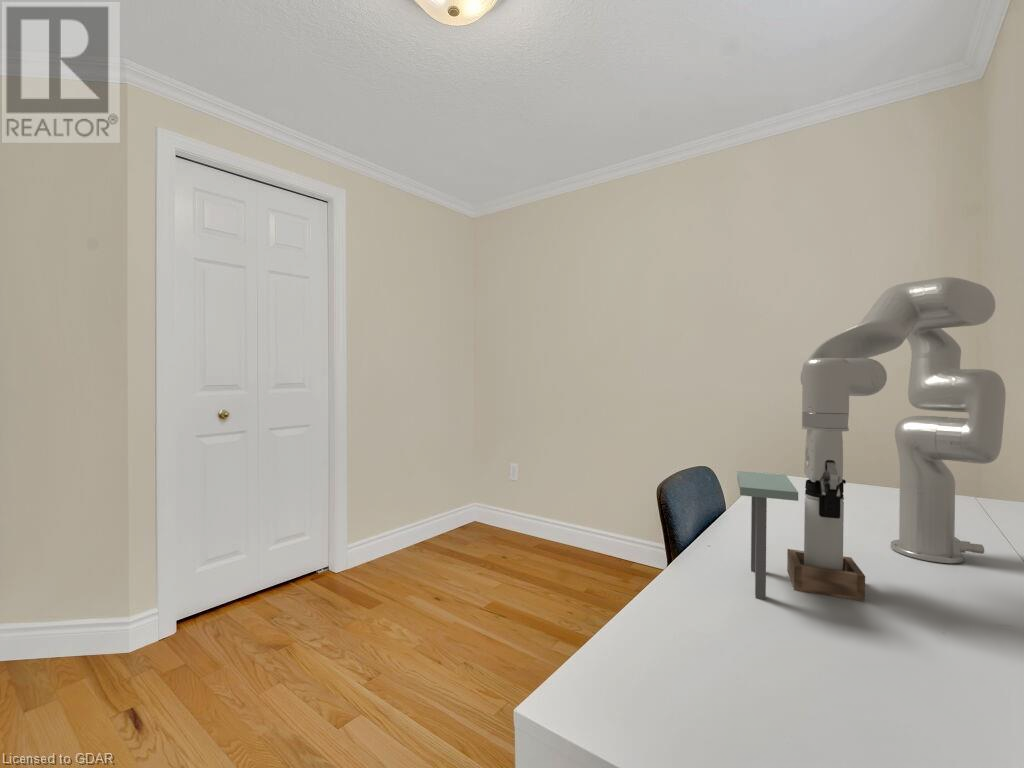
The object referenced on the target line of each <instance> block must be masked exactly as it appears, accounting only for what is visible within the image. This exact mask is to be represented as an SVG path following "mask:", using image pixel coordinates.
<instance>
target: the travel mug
mask: <svg viewBox="0 0 1024 768" xmlns="http://www.w3.org/2000/svg"><path fill="white" fill-rule="evenodd" d="M846 483H847V482H846V479H844V478H843V479H842V482H841V483H840V484H839V489H840V518H839V519H836V518H827V517H821V516H820V515H819V494H820V495H821V489H820V481H819V480H816V482H812V481H811V480H810V479H809V478H808V479H806V480H805V484H804V485H805V486H804V488H805V489H804V491H805V492H804V531H803V532H804V533H803V535H804V536H803V537H804V539H803V542H804V543H803V551H804V565H807V566H813V567H820V568H827V569H834V570H841V571H843V556H844V512H845V511H844V507H845V506H844V505H845V503H844V499H845V497H844V485H845V484H846ZM825 487H826V486H825Z"/></svg>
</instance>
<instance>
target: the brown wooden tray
mask: <svg viewBox="0 0 1024 768" xmlns="http://www.w3.org/2000/svg"><path fill="white" fill-rule="evenodd" d="M786 554H787V556H786V557H787V563H786V564H787V567H786V568H787V569H786V570H787V574H788V577H789V579H790V581H791V585H792V587H793V590H794V591H800V592H807V593H811V594H818V595H823V596H830V597H831V596H832V597H835V598H836V597H837V598H843V599H848V600H854V601H861V602H866V575H865V574H864V572H863V571H862V570H861V569H860V568H859V566H858V564H857V563H856V561H855V560H854V559H853V558H852V557H850V556H844V555H843V571H841V570H834V569H827V568H820V567H813V566H807V565H804V550H799V549H792V548H787V553H786Z"/></svg>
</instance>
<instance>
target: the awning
mask: <svg viewBox="0 0 1024 768" xmlns="http://www.w3.org/2000/svg"><path fill="white" fill-rule="evenodd" d="M736 472H737V473H736V478H737V484H738V491H739V495H740V496H743V497H751V507H750V508H751V509H750V511H751V512H750V515H751V517H750V518H751V520H750V522H751V523H750V529H751V530H750V532H751V533H750V572H752V571H754V572H753V573H754V576H755V577H754V579H755V580H754V598H756V599H761V600H765V601H766V599H767V587H766V585H767V517H768V515H767V507H768V506H767V505H768V504H767V503H768V502H767V501H768V500H767V499H774V500H775V499H776V500H787V501H796V502H797V501H798V502H799V491H798V489H797V488H796V487H795V486H794V484H793V482H792V481H791V480H790V478H789V477H788V476H787V474H778V473H766V472H753V471H752V472H751V471H741V470H738V471H736Z"/></svg>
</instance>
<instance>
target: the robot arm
mask: <svg viewBox="0 0 1024 768" xmlns="http://www.w3.org/2000/svg"><path fill="white" fill-rule="evenodd" d="M995 311H996V300H995V296H994V295H993V293H992V291H991V290H990V289H989V288H987V287H986V286H985V285H983V284H981V283H976V282H973V281H970V280H967V279H963V278H958V277H954V276H953V277H952V276H947V277H946V276H945V277H936V278H930V279H929V278H928V279H924V280H918V281H917V280H916V281H911V282H905V283H900V284H895V285H894V286H891V287H889V288H888V289H886V290H885V291H884V292H883V293H882V294H881V295H880V297H878V299H876V301H875V303H874V304H873V305H872V306H871V308H870V310H869V311H868V312H867V313H866V315H865V316H864V317H863V318H862V320H861V321H860V322H859V323H857V324H854V325H853V326H851V327H849V328H847V329H845V330H843V331H841V332H839V333H837V334H836V335H834V336H832V337H830V338H828V339H826V340H825V341H824V342H822V343H821V344H819V346H817V347H816V348H815V350H813V352H812V353H811V354H810V355H809V357H808V358H807V359H806V360H805V361H804V363H803V365H802V368H801V372H800V383H801V385H802V388H801V389H802V391H801V392H802V393H801V394H802V395H801V396H802V397H801V398H802V401H801V403H802V404H801V411H802V413H801V429H803V430H806V435H805V447H804V448H805V449H804V450H805V451H804V466H803V467H804V468H803V469H804V470H803V473H804V475H805V477H807V479H808V480H809V479H810V480H811V481H812V482H816V480H819V481H820V489H821V495H820V494H819V515H820V516H821V517H827V518H836V519H839V518H840V489H839V484H840V483H841V482H842V479H843V480H844V478H843V476H844V439H843V438H844V437H843V432H849V430H850V427H849V426H850V397H867V396H872V395H875V394H878V393H879V392H880V391H882V390H883V389H884V387H885V386H886V383H887V381H888V374H887V370H886V368H885V366H884V365H883V364H882V363H880V362H879V361H878V360H875V359H873V358H872V357H876V356H879V355H883V354H885V353H888V352H891V351H893V350H895V349H897V348H899V347H900V346H902V344H903V343H904V342H905V340H907V341H908V345H909V346H910V350H911V351H910V352H911V361H910V367H909V368H910V370H909V378H908V389H907V390H908V392H907V395H908V396H907V397H908V401H909V404H910V405H911V406H912V407H914V408H916V409H919V410H922V411H923V410H924V411H935V412H952V413H953V412H954V413H966V414H968V416H969V418H966V417H965V418H963V417H948V416H934V415H913V416H908V417H905V418H903V419H901V420H899V422H897V424H896V425H895V429H894V438H895V444H896V449H897V453H898V460H899V509H898V510H899V511H898V512H899V515H898V516H899V517H898V518H899V522H898V523H899V525H898V529H899V530H898V532H899V533H898V536H899V537H898V539H894V540H891V541H890V548H891V549H892V550H893V551H894V552H897V553H899V554H901V555H904V556H908V557H911V558H914V559H917V560H923V561H927V562H932V563H938V564H939V563H942V564H959V563H963V562H964V561H965V555H964V554H965V553H966V552H970V553H973V554H984V553H985V547H984V545H983V544H979V543H971V541H967V540H960V539H959V538H957V537H956V536H955V534H956V533H955V529H956V528H955V527H956V526H955V524H956V523H955V521H956V518H955V517H956V479H955V476H954V475H953V472H951V471H952V470H950V469H949V467H948V466H947V464H945V462H944V461H950V462H951V461H952V462H958V463H959V462H960V463H961V462H962V463H970V464H980V465H986V464H990V463H992V462H994V461H996V460H997V459H998V457H999V455H1000V454H1001V453H1000V452H1001V450H1002V445H1003V444H1002V443H1003V442H1002V441H1003V433H1004V432H1003V431H1004V430H1003V429H1004V420H1005V409H1006V397H1007V394H1006V387H1005V383H1004V380H1003V378H1002V377H1001V375H999V373H997V372H995V371H993V370H989V369H985V368H969V369H967V368H966V369H965V368H964V369H963V368H961V357H962V349H961V347H960V345H959V343H958V342H957V341H956V339H954V337H952V336H951V335H950V334H948V333H947V332H946V331H945V330H944V329H948V328H949V329H950V328H959V327H972V326H979V325H982V324H983V325H984V324H985V323H987V322H988V321H989V320H991V318H992V317H993V315H994V314H995ZM825 486H826V487H825Z"/></svg>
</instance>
